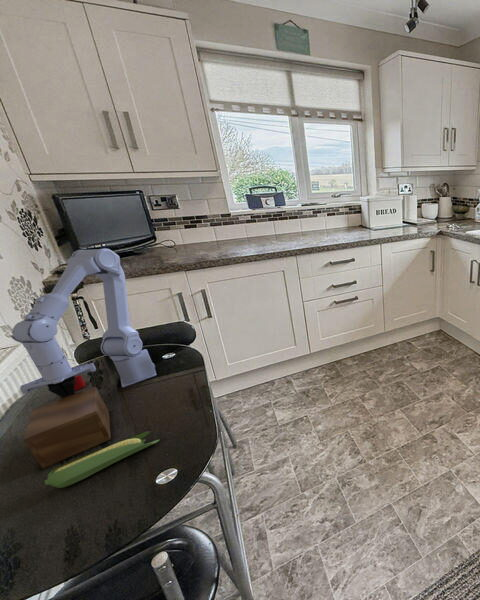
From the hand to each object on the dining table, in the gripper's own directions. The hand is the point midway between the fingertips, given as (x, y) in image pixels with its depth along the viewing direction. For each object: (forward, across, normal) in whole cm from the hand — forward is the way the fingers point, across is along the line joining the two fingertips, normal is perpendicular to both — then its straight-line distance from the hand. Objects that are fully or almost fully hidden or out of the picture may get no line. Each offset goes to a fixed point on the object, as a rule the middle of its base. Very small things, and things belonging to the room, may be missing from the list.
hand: (73, 402), depth 92 cm
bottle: (+5, -1, +21) cm, 21 cm away
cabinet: (+5, 0, -12) cm, 13 cm away
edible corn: (+5, +6, -30) cm, 31 cm away
